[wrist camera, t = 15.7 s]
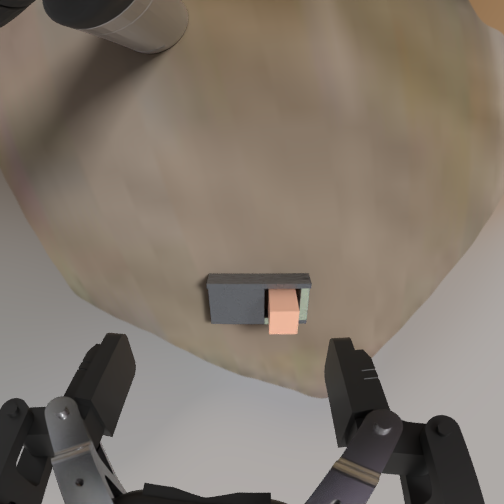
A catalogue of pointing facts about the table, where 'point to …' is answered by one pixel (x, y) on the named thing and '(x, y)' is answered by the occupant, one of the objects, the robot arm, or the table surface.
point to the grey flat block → (251, 296)
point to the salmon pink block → (283, 311)
